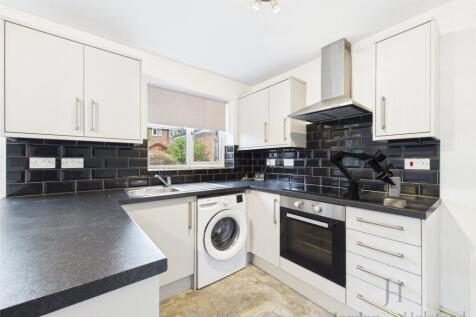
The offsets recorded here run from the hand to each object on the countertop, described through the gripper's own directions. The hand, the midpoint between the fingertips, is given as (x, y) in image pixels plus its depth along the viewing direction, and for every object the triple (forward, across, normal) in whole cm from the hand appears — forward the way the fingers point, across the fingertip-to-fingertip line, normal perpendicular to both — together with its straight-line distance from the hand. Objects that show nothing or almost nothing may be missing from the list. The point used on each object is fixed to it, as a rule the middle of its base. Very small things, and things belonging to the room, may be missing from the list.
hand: (396, 185), depth 132 cm
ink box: (+4, 0, +6) cm, 7 cm away
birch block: (+9, 0, +10) cm, 14 cm away
